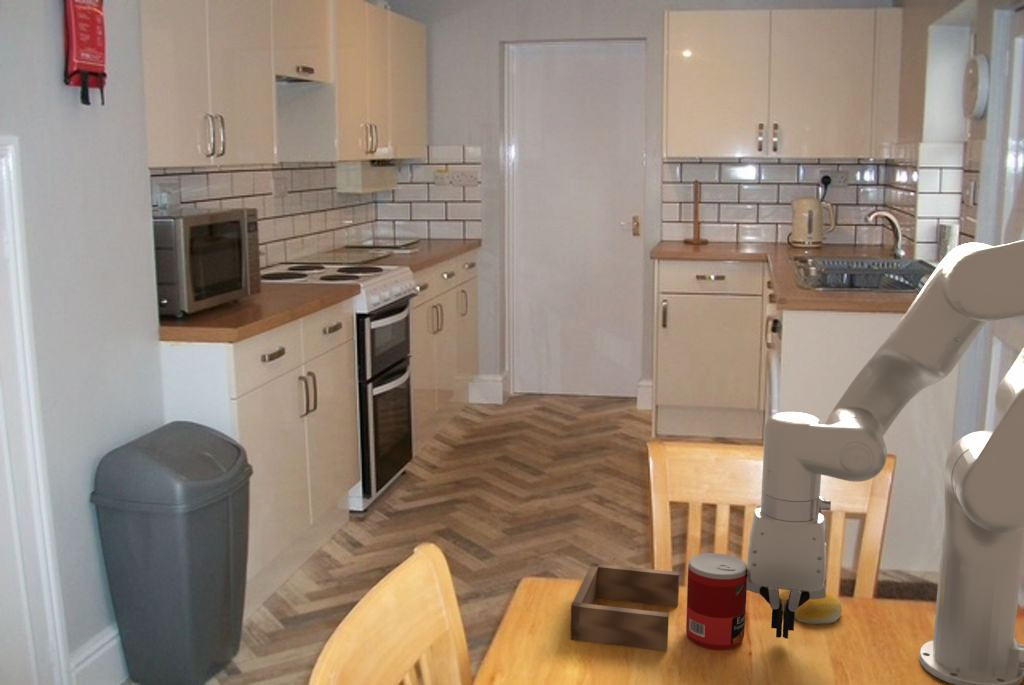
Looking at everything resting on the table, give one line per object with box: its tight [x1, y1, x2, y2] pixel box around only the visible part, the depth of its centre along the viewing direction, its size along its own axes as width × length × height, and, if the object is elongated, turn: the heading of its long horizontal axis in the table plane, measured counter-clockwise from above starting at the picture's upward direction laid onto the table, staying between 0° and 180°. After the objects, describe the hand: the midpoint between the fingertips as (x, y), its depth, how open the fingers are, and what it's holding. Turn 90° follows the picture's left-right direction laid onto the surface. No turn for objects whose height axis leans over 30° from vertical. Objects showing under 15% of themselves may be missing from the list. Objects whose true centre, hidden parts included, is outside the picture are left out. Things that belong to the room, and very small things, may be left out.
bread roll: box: [779, 589, 843, 625], centre depth 154 cm, size 8×9×4 cm
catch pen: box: [570, 562, 680, 652], centre depth 151 cm, size 13×15×5 cm
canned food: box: [685, 552, 748, 651], centre depth 146 cm, size 8×8×11 cm
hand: (782, 633), depth 144 cm, fingers closed
